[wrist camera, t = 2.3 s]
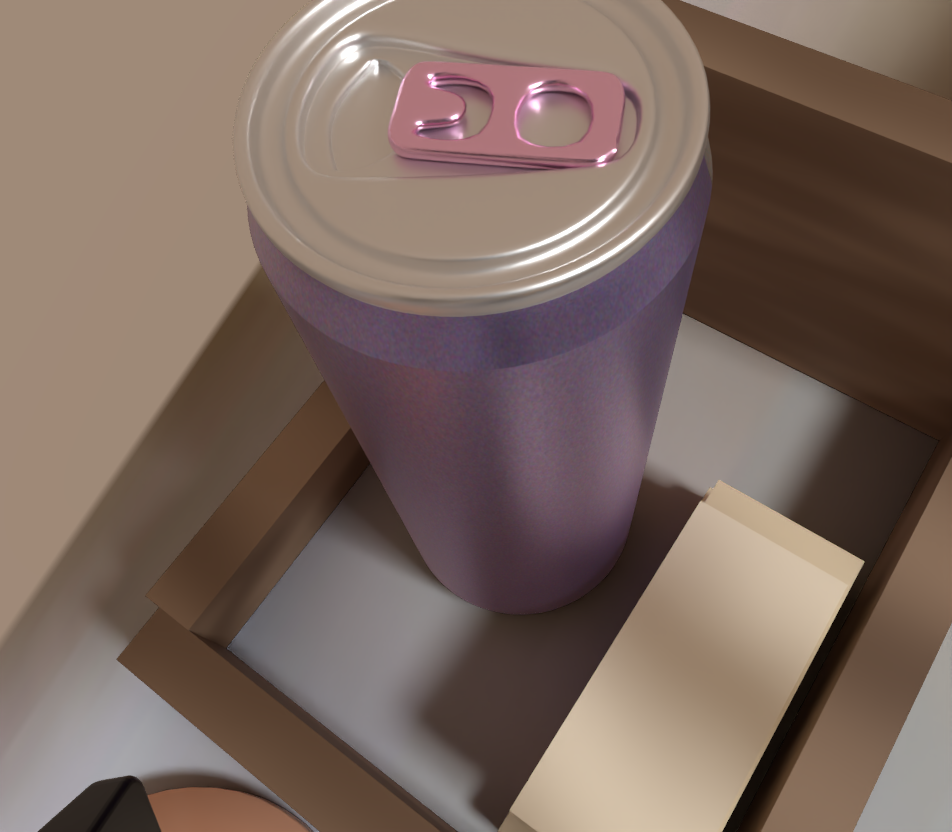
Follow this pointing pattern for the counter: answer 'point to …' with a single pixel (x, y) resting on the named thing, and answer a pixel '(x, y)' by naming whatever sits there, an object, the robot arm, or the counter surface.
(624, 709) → the offcut stack
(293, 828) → the peach round disc
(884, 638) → the walnut rack
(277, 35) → the beverage can
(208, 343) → the counter surface
